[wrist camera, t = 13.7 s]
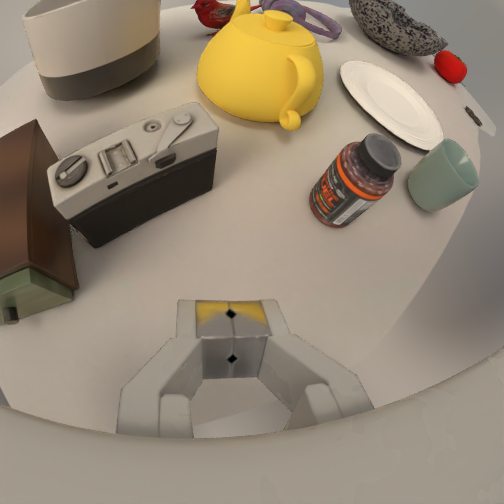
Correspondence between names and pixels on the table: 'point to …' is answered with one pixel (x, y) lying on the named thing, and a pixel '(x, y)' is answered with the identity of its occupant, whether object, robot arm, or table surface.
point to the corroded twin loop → (473, 116)
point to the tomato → (450, 67)
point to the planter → (91, 43)
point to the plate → (392, 104)
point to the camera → (136, 173)
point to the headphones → (303, 16)
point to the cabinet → (32, 209)
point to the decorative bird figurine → (215, 13)
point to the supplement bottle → (355, 180)
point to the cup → (442, 177)
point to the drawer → (29, 294)
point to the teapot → (262, 68)
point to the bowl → (395, 28)
